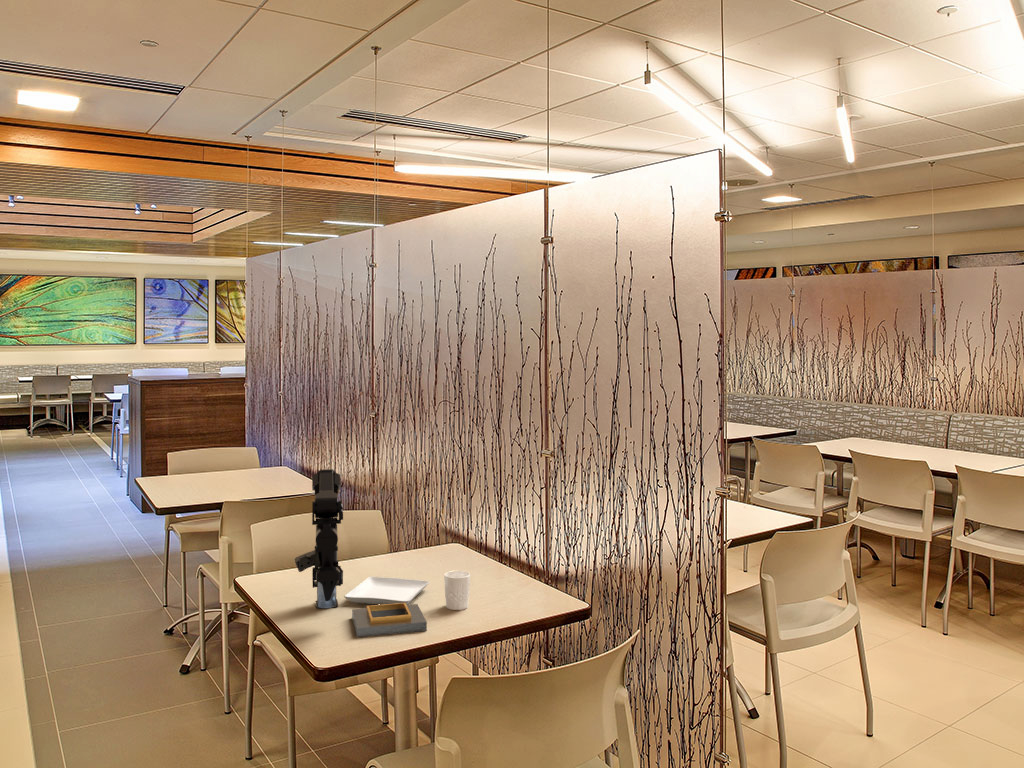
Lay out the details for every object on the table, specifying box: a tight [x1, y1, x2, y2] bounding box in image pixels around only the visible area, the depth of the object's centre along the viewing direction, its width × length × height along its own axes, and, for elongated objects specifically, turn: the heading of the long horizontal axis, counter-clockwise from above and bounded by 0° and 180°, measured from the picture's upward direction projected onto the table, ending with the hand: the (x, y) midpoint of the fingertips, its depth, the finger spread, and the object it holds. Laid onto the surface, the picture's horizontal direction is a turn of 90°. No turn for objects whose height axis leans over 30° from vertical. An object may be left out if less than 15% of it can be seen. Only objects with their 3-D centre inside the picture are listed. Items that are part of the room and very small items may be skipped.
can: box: [318, 582, 337, 609], centre depth 214 cm, size 5×5×8 cm
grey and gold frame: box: [351, 603, 428, 638], centre depth 219 cm, size 16×19×4 cm
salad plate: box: [343, 576, 430, 605], centre depth 244 cm, size 21×21×3 cm
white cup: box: [443, 570, 471, 611], centre depth 235 cm, size 8×8×10 cm
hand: (326, 598), depth 214 cm, fingers closed on can, 5 cm apart
